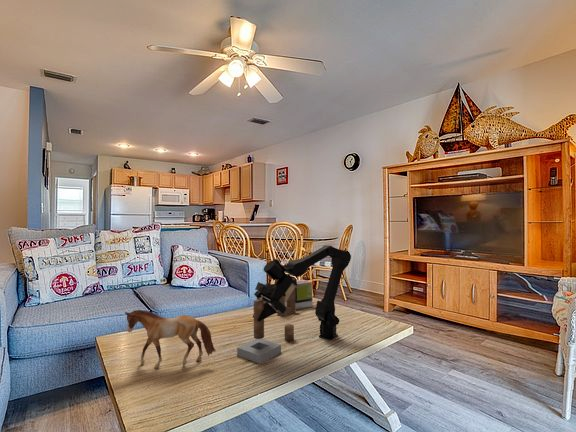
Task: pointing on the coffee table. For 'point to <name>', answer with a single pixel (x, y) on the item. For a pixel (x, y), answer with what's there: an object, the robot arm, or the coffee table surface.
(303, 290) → the tea box
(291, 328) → the short walnut stub
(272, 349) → the slate collar block
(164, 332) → the horse figurine
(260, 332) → the tall walnut pin
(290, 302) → the wooden block
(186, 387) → the coffee table surface
